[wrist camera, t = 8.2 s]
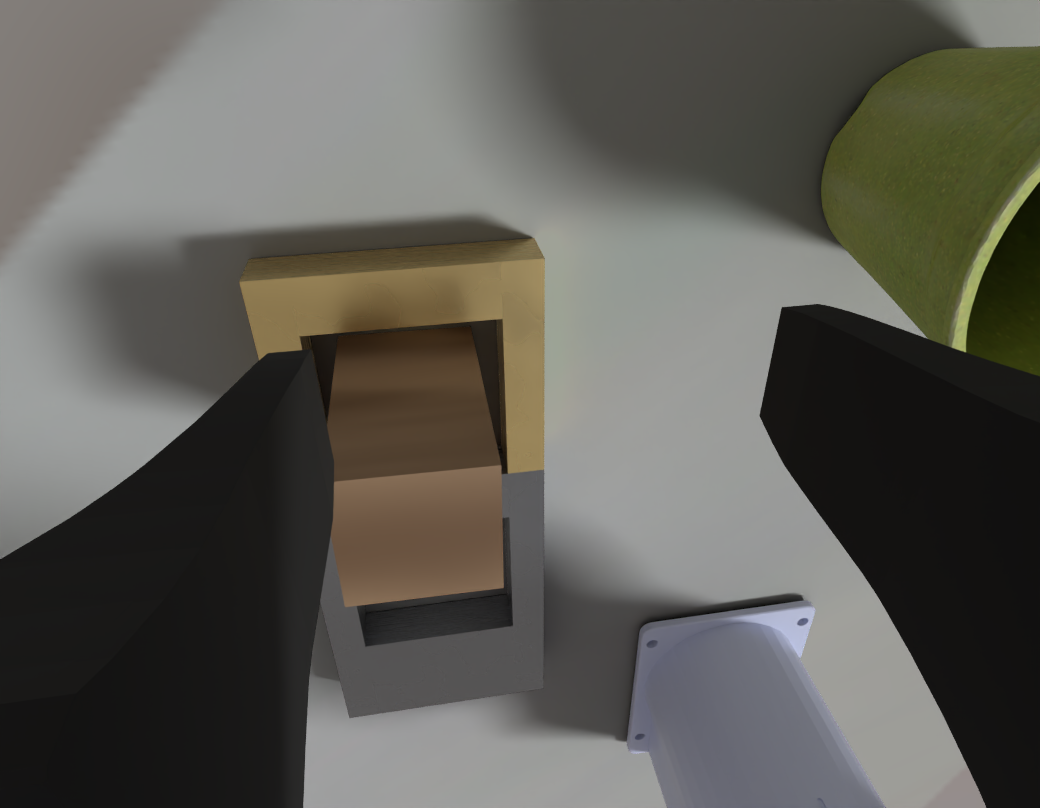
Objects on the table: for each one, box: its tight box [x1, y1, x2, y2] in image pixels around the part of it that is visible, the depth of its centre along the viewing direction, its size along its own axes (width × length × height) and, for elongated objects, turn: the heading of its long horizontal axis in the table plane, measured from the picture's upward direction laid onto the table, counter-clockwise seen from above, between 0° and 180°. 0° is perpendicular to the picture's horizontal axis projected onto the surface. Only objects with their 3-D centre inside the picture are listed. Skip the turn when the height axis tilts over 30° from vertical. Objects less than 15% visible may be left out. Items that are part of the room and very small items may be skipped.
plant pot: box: [821, 46, 1040, 376], centre depth 18 cm, size 9×9×9 cm
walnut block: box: [327, 326, 504, 607], centre depth 20 cm, size 4×4×7 cm
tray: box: [239, 238, 545, 718], centre depth 25 cm, size 19×8×2 cm, turn 1°
